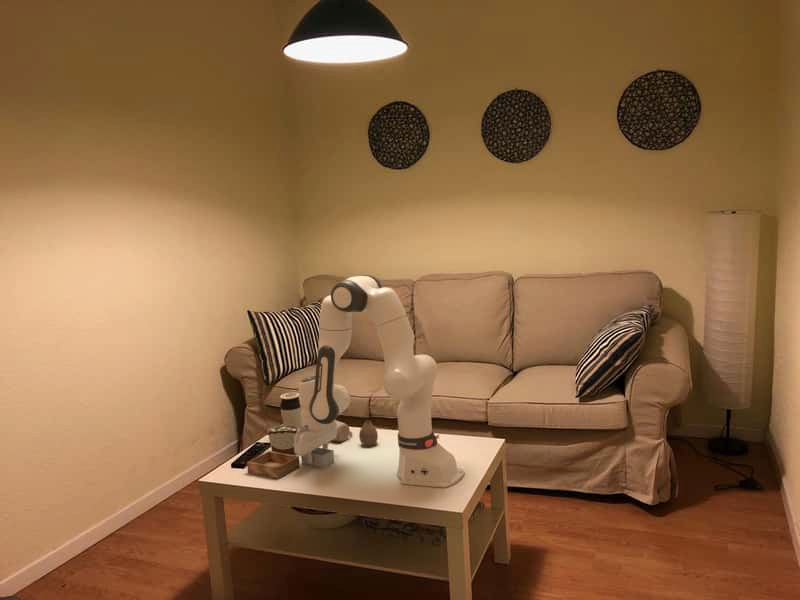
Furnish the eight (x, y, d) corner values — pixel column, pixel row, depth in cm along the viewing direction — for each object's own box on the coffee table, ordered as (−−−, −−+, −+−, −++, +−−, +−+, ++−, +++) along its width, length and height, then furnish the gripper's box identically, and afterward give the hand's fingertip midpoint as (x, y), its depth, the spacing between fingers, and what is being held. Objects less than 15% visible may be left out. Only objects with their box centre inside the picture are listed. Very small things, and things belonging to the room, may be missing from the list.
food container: (305, 448, 261) (302, 423, 259) (301, 454, 255) (298, 429, 253) (273, 449, 262) (271, 424, 260) (269, 456, 256) (266, 430, 254)
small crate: (334, 462, 245) (333, 450, 245) (324, 468, 240) (322, 456, 240) (312, 458, 251) (311, 446, 250) (301, 464, 246) (300, 452, 245)
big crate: (300, 467, 243) (299, 456, 242) (278, 479, 234) (277, 468, 233) (270, 461, 251) (269, 450, 250) (247, 473, 241) (246, 462, 241)
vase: (362, 441, 264) (360, 419, 262) (379, 441, 263) (378, 419, 261) (358, 448, 257) (356, 425, 256) (376, 447, 256) (374, 425, 255)
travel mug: (306, 435, 276) (302, 391, 273) (301, 442, 268) (297, 397, 265) (286, 435, 276) (282, 392, 274) (281, 443, 269) (277, 398, 266)
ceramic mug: (338, 444, 262) (337, 425, 261) (323, 441, 267) (322, 422, 266) (357, 436, 270) (356, 417, 269) (342, 433, 275) (341, 414, 274)
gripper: (302, 432, 233) (305, 471, 235) (338, 413, 250) (341, 449, 252) (287, 430, 236) (291, 468, 238) (324, 411, 253) (328, 447, 255)
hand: (317, 458), depth 245 cm, fingers closed on small crate, 6 cm apart
